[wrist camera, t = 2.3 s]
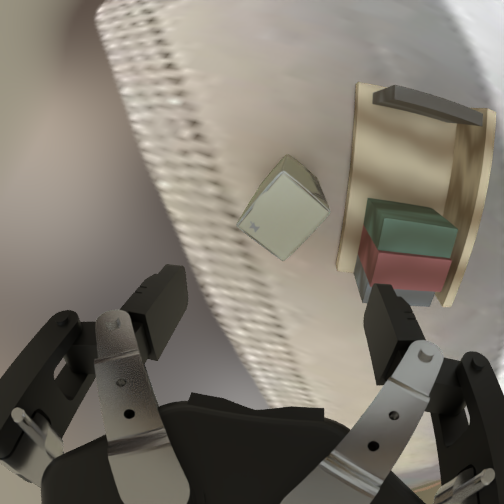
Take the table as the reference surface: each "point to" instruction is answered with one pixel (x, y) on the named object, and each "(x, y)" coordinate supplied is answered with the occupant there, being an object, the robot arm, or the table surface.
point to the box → (285, 209)
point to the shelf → (414, 192)
